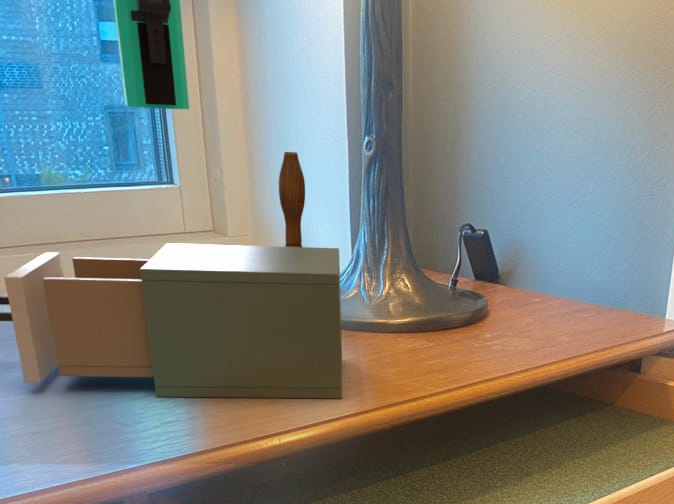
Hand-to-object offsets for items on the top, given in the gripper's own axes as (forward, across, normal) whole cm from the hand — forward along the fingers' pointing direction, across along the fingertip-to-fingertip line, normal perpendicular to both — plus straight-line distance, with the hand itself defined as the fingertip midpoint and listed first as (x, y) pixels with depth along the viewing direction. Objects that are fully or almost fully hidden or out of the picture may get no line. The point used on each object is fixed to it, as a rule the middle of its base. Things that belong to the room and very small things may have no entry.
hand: (156, 102), depth 94 cm
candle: (+1, 0, 0) cm, 1 cm away
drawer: (+19, +25, -10) cm, 33 cm away
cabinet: (+19, +28, +3) cm, 35 cm away
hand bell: (+20, +9, +11) cm, 24 cm away
